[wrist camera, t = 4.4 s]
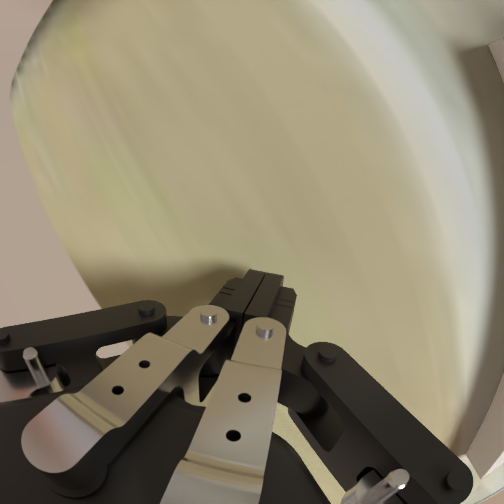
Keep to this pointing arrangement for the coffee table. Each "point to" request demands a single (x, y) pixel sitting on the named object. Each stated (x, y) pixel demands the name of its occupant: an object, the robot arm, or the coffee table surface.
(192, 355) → the robot arm
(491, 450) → the decorative molding
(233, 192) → the coffee table surface
